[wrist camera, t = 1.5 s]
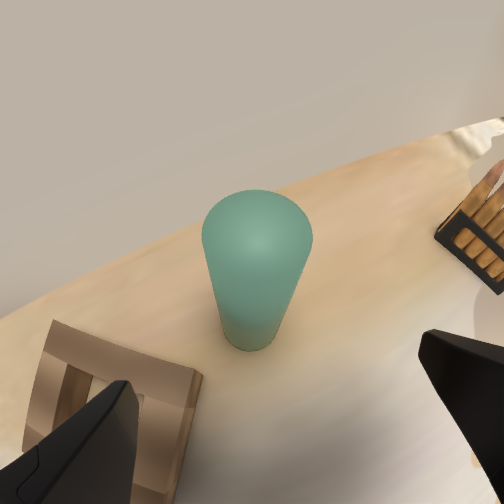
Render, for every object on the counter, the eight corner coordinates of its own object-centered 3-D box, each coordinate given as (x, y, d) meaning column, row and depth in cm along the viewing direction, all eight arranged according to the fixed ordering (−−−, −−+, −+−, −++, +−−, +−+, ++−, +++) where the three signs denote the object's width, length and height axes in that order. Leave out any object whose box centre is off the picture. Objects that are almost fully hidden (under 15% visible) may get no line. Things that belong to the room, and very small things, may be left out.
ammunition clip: (433, 237, 26) (496, 157, 15) (437, 227, 27) (496, 148, 16) (498, 296, 23) (571, 238, 12) (500, 283, 23) (569, 225, 13)
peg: (271, 355, 20) (306, 293, 9) (217, 344, 20) (187, 269, 10) (281, 305, 22) (316, 200, 11) (230, 295, 22) (218, 183, 12)
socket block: (172, 505, 14) (158, 523, 10) (50, 449, 15) (21, 451, 11) (203, 375, 19) (194, 369, 16) (78, 333, 20) (53, 319, 17)
